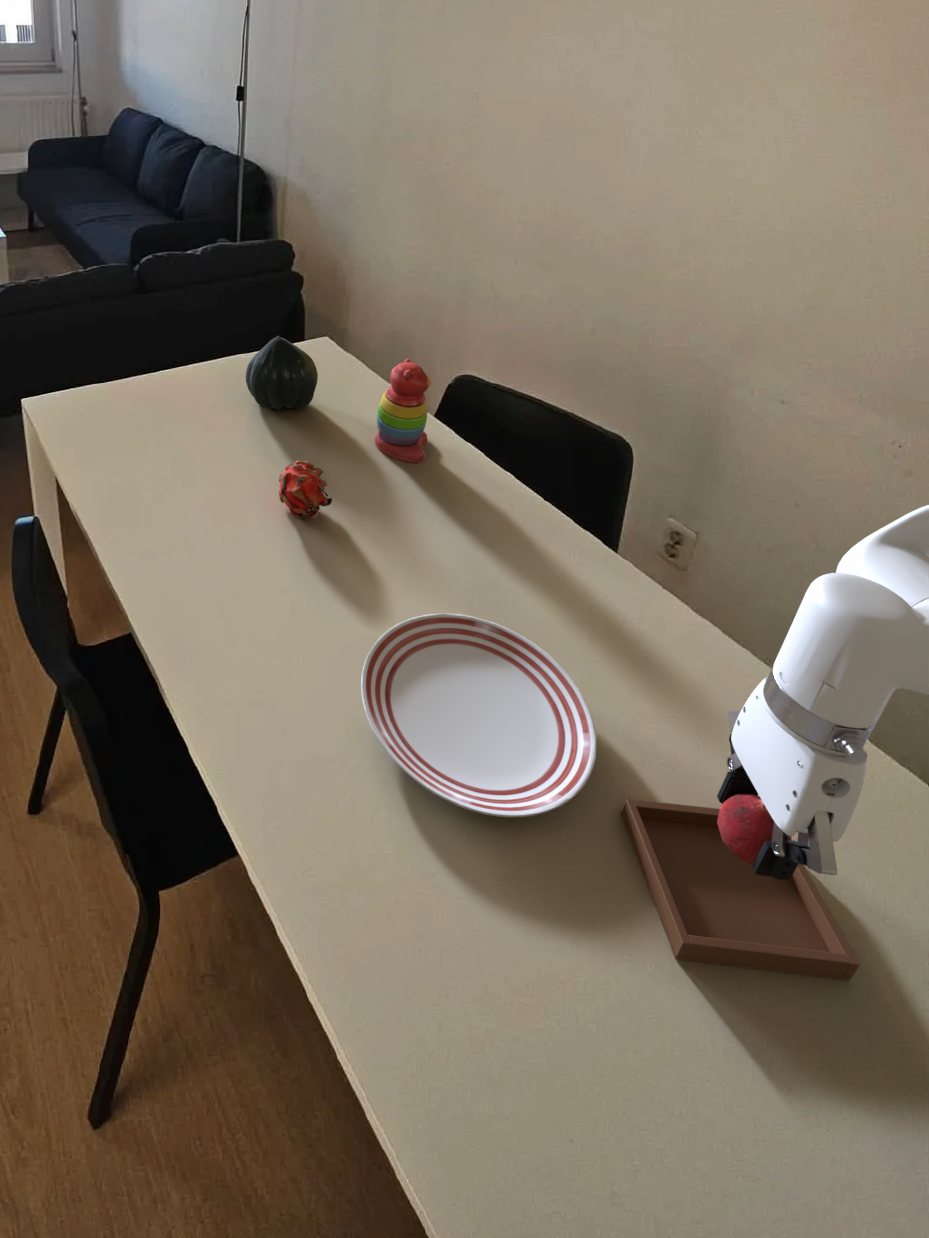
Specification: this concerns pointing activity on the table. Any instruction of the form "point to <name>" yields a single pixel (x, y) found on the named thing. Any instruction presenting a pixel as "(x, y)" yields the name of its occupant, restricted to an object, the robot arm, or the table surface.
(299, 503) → the dragon fruit
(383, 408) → the stacking bear
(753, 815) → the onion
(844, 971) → the tray
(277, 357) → the squash
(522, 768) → the dinner plate
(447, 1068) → the table surface
